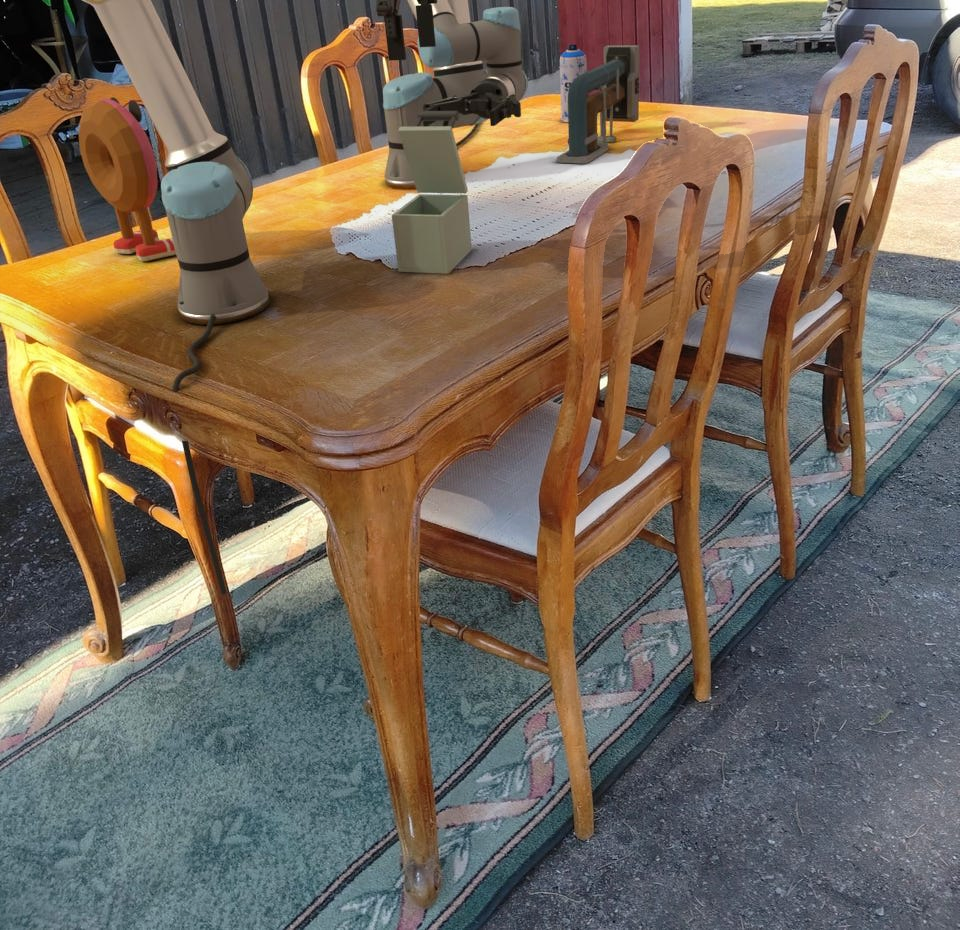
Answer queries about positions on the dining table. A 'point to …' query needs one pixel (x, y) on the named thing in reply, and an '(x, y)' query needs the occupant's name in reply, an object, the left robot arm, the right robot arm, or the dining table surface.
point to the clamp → (602, 103)
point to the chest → (432, 233)
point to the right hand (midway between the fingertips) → (457, 118)
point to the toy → (123, 172)
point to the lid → (434, 154)
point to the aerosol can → (570, 74)
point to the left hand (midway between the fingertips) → (413, 53)
